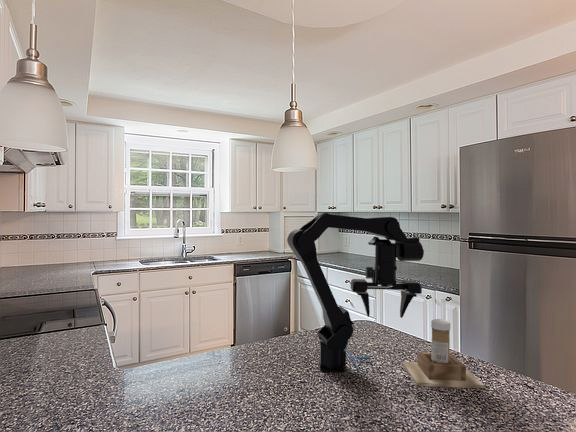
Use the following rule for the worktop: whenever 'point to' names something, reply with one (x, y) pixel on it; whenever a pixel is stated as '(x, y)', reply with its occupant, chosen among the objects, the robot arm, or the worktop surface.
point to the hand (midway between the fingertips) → (384, 316)
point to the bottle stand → (441, 373)
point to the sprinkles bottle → (440, 341)
